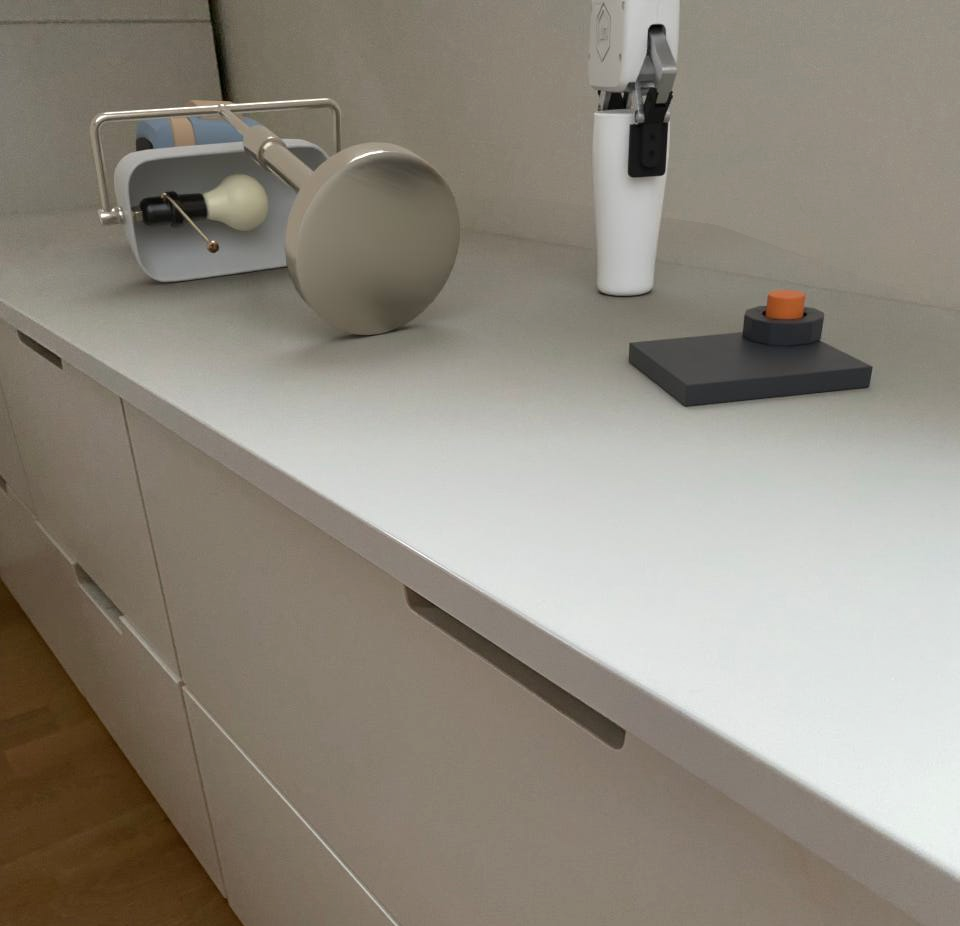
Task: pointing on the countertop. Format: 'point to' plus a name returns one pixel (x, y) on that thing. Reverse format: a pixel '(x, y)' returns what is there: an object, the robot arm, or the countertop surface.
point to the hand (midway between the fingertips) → (629, 170)
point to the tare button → (785, 304)
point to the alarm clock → (188, 130)
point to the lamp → (288, 215)
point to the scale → (750, 361)
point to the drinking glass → (623, 209)
